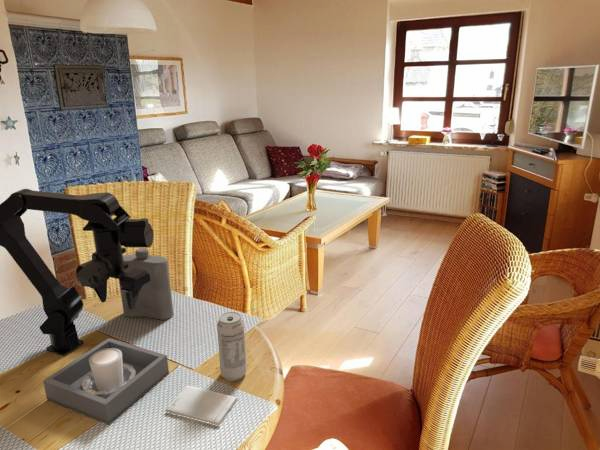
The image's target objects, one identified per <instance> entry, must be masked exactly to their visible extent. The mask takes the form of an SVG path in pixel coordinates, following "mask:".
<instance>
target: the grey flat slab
mask: <svg viewBox="0 0 600 450" xmlns="http://www.w3.org/2000/svg"><path fill="white" fill-rule="evenodd" d="M238 401H239V399H238V397H237V396H233V395H228V394H225V393H221V392H216V391H214V390H213V391H212V390H208V389H205V388H200V387H197V386H192V385H187V384H186V385H185V387H184V388H183V389H182V390H181V391H180V392H179V393H178V394H177V395H176V397H175V398H174V399H173V400H172V401H171V402H170V403H169V405H168V406H167V407H166V409H165V413H166V412H169V413H173V414H176V415H181V416H186V417H189V418H193V419H197V420H201V421H205V422H209V423H211V424H215V425H218V426H219V425H220V424H221V423H223V422H224V421H225V419H226V418H227V417H228V415H229V414H230V412H231V411H232V410H233V408H234V407H235V405H236V403H237V402H238ZM228 413H229V414H228ZM227 414H228V415H227ZM176 415H175V416H176ZM225 417H226V418H225ZM223 420H224V421H223ZM222 421H223V422H222ZM221 425H222V424H221ZM221 425H220V426H221ZM218 426H217V427H218Z"/></svg>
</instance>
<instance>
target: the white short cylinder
mask: <svg viewBox="0 0 600 450" xmlns="http://www.w3.org/2000/svg"><path fill="white" fill-rule="evenodd" d="M89 364H90V367H91V370H92V373H93V377H94V380H95V383H96V387H97V389H98V390H100V391H109V390H112V389H114V388H117V387H120V385H121V384H122V383H123V360H122V352H121V351H120V350H119V349H115V348H108V349H103V350H100V351H98V352H96V353H94V354H93V355H92V356H91V357H90V358H89Z"/></svg>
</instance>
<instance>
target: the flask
mask: <svg viewBox="0 0 600 450" xmlns="http://www.w3.org/2000/svg"><path fill="white" fill-rule="evenodd" d="M149 253H150V252H149V249H147V247H139V248H137V249H136V250H135V251H134V254H123V260H124V263H127V264H128V268H126V269H124V272H129V271H131V270H133V269H135V268H136V269H141V270H146V271H148V272H149V274H150V281H149V282H148V283H146V284H144V285H143V286H142V288H141V290H140V292H139V295H138V298H137V300H136V303H135V306H134V308H133V309H131V310H130V309H129V307H128V303H127V298H126V293H125V292H124V291H122V290H121V288H123V287H122V286H121V285H120V279H118V283H119V289H120V290H119V291H120V297H121V303H122V304H121V305H122V311H123V316H125V317H127V318H150V319H155V320H159V319H160V321H166V320H169V319H171V318H172V317H173V316H174V306H173V298H172V297H173V296H172V289H171V288H172V287H171V280H170V270H169V269H170V268H169V263H168V262H169V261H168V258H167V257H165V256H160V255H153V254H149ZM171 316H172V317H171ZM170 317H171V318H170ZM168 318H169V319H168ZM165 319H166V320H165Z"/></svg>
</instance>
